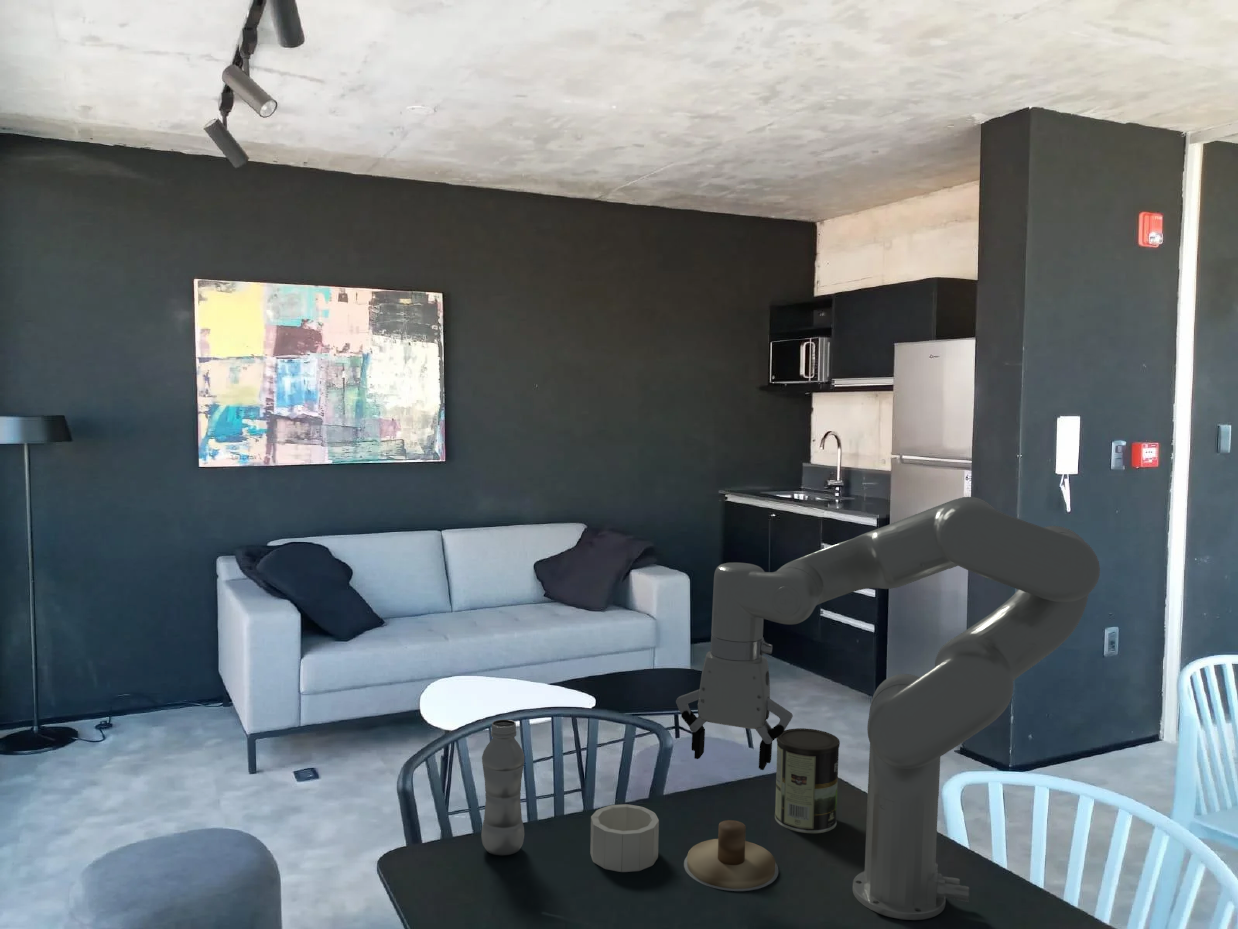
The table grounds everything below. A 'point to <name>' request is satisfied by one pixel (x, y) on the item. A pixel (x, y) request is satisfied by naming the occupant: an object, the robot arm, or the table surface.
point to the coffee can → (807, 780)
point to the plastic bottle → (503, 790)
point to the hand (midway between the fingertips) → (730, 761)
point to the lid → (731, 859)
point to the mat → (729, 888)
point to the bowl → (624, 838)
